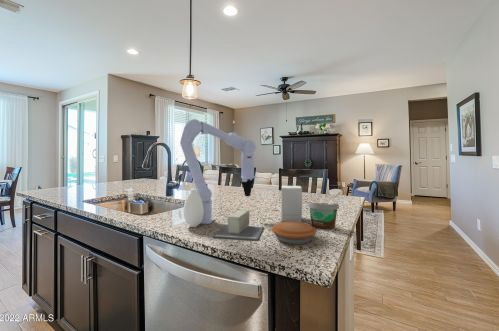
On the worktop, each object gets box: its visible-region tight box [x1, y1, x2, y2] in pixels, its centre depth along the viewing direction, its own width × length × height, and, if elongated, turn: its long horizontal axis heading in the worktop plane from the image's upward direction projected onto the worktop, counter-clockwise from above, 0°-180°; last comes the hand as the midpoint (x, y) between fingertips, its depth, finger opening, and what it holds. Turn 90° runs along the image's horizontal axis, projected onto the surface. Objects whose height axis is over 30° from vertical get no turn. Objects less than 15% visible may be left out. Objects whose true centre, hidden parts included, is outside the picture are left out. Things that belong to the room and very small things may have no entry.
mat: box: [212, 224, 264, 242], centre depth 90 cm, size 16×15×1 cm
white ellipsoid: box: [183, 182, 204, 228], centre depth 98 cm, size 8×8×18 cm
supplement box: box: [281, 185, 303, 222], centre depth 109 cm, size 9×9×15 cm
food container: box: [307, 200, 340, 230], centre depth 96 cm, size 12×6×10 cm, turn 62°
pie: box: [271, 221, 318, 245], centre depth 84 cm, size 16×16×5 cm
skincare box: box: [227, 209, 250, 234], centre depth 93 cm, size 6×4×12 cm
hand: (247, 196), depth 111 cm, fingers closed
